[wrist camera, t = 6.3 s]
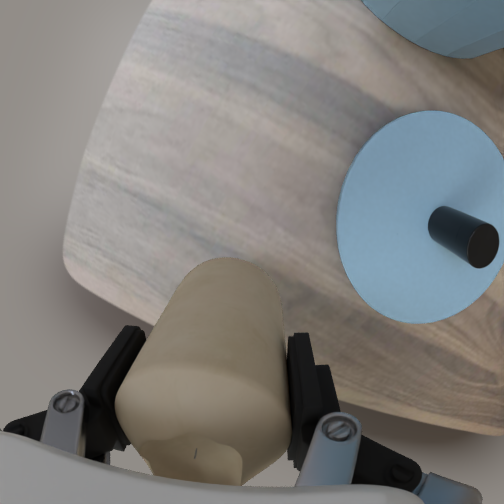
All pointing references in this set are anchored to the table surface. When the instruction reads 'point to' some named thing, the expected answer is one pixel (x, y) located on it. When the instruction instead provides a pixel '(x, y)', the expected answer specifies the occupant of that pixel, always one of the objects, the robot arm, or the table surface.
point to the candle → (212, 379)
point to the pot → (446, 24)
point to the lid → (423, 217)
